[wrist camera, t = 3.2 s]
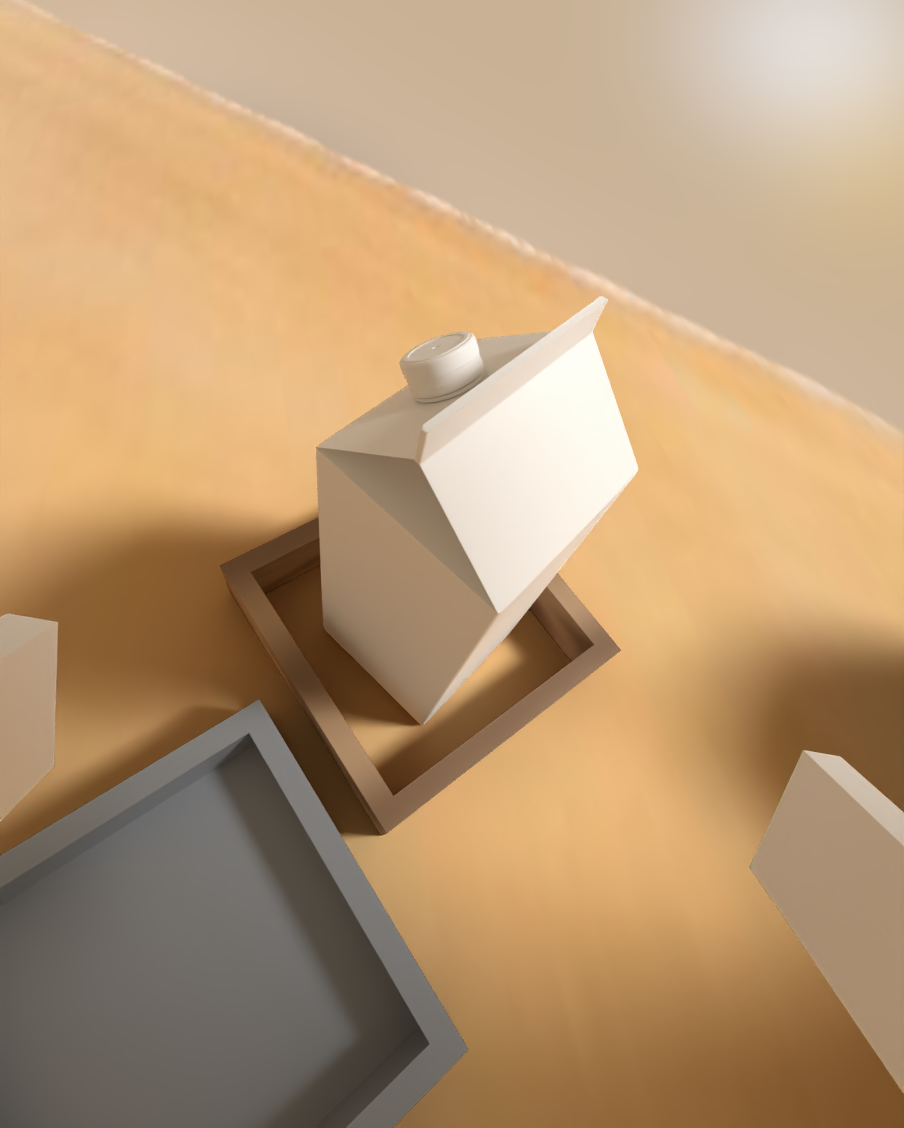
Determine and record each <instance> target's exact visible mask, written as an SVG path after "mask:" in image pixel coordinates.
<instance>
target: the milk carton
mask: <svg viewBox="0 0 904 1128" xmlns="http://www.w3.org/2000/svg"><path fill="white" fill-rule="evenodd" d="M607 301H608V300H607V299H606V298H605V297H603V296H600V297H599V298H597V299H596V300H595V301H593V302H592V303H590V304H589V305H588V306H586V307H585V308H584V309H582V310H581V311H579V312H578V313H577V314H575V315H574V316H572V317H571V318H570V319H568V320H567V321H566V322H564V323H563V324H561V325H560V326H559V327H557V328H556V329H555V330H553V331H552V332H542V333H532V334H522V335H512V336H502V337H492V338H484V339H478V340H476V338H475V336H474V335H473V334H472V333H469V332H456V333H450V334H446V335H442V336H439V337H436V338H434V339H431V340H429V341H427V342H424V343H423V344H421V345H419V346H417V347H415V348H414V349H412V350H411V351H409V352H408V353H407V354H406V355H405V356H404V357H403V358H402V359H401V361H400V367H401V370H402V372H403V375H404V377H405V379H406V380H407V383H408V385H407V386H406V387H404V388H403V389H401V390H400V391H398V392H397V393H395V394H394V395H392V396H391V397H389V398H388V399H386V400H385V401H383V402H382V403H380V404H379V405H377V406H376V407H374V408H373V409H371V410H370V411H368V412H367V413H365V414H364V415H362V416H361V417H359V418H358V419H356V420H355V421H353V422H352V423H350V424H349V425H347V426H346V427H344V428H343V429H341V430H340V431H338V432H337V433H335V434H334V435H332V436H331V437H330V438H328V439H327V440H325V441H324V442H322V443H321V444H320V445H318V446H317V447H316V449H317V451H316V461H317V489H318V514H319V539H320V563H321V588H322V613H323V628H324V630H325V631H326V632H327V633H328V634H329V635H330V636H331V637H332V638H333V639H334V640H335V641H336V642H337V643H338V644H339V645H341V646H342V647H343V648H344V649H345V650H346V651H347V652H348V653H349V654H350V655H351V656H352V657H353V658H354V659H355V660H356V661H357V662H358V663H359V664H360V665H361V666H362V667H363V668H364V669H365V670H366V671H367V672H368V673H369V674H370V675H371V676H372V677H373V678H374V679H375V680H376V681H377V682H378V683H379V684H380V685H381V686H382V687H383V688H384V689H385V690H386V691H387V692H388V693H389V694H390V695H391V696H392V697H393V698H394V699H395V700H396V701H397V702H398V703H399V704H400V705H401V706H402V707H403V708H404V709H405V710H406V711H407V712H408V713H409V714H410V715H411V716H412V717H413V718H414V719H415V720H416V721H417V722H418V723H419V724H420V725H423V724H425V723H426V722H427V721H428V720H429V719H430V718H431V717H432V716H433V715H434V714H435V713H436V712H437V710H438V709H439V708H440V707H441V706H442V705H443V704H444V703H445V702H446V701H447V700H448V699H449V698H450V697H451V696H452V694H453V693H454V692H455V691H456V690H457V689H458V688H459V687H460V686H461V685H462V684H463V683H464V682H465V681H466V680H467V678H468V677H469V676H470V675H471V674H472V673H473V672H474V671H475V670H476V669H477V668H478V667H479V666H480V665H481V664H482V662H483V661H484V660H485V659H486V658H487V657H488V656H489V655H490V654H491V653H492V652H493V651H494V650H495V649H496V647H497V646H498V645H499V644H500V643H501V642H502V641H503V640H504V639H505V638H506V637H507V636H508V634H509V633H510V632H511V631H512V629H513V628H514V627H515V626H516V624H517V623H518V622H519V621H520V619H521V618H522V617H523V615H524V614H525V613H526V612H527V610H528V609H529V608H530V607H531V605H532V604H533V603H534V602H535V600H536V599H537V598H538V597H539V595H540V594H541V593H542V592H543V590H544V589H545V588H546V587H547V585H548V584H549V583H550V582H551V580H552V579H553V578H554V576H555V575H556V574H557V573H558V571H559V570H560V569H561V568H562V566H563V565H564V564H565V563H566V561H567V560H568V559H569V558H570V556H571V555H572V554H573V553H574V551H575V550H576V549H577V548H578V546H579V545H580V544H581V542H582V541H583V540H584V539H585V537H586V536H587V535H588V534H589V532H590V531H591V530H592V529H593V527H594V526H595V525H596V524H597V522H598V521H599V520H600V519H601V517H602V516H603V515H604V514H605V512H606V511H607V510H608V509H609V507H610V506H611V505H612V503H613V502H614V501H615V500H616V498H617V497H618V496H619V495H620V493H621V492H622V491H623V490H624V488H625V487H626V486H627V485H628V483H629V482H630V481H631V480H632V478H633V477H634V476H635V474H636V473H637V471H638V466H637V463H636V460H635V457H634V454H633V451H632V448H631V445H630V442H629V439H628V436H627V433H626V430H625V427H624V424H623V421H622V418H621V415H620V412H619V409H618V406H617V403H616V400H615V397H614V394H613V392H612V389H611V386H610V383H609V380H608V377H607V374H606V371H605V368H604V365H603V362H602V359H601V356H600V353H599V350H598V347H597V344H596V341H595V338H594V335H593V332H592V331H593V329H594V327H595V325H596V323H597V321H598V319H599V317H600V315H601V313H602V311H603V309H604V307H605V305H606V303H607Z"/></svg>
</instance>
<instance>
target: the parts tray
mask: <svg viewBox="0 0 904 1128" xmlns="http://www.w3.org/2000/svg"><path fill="white" fill-rule="evenodd" d="M468 1050H469V1049H468V1048H467V1046H466V1044H465V1043H464V1041H463V1039H462V1037H461V1036H460V1034H459V1032H458V1031H457V1029H456V1027H455V1026H454V1024H453V1022H452V1021H451V1019H450V1017H449V1016H448V1014H447V1012H446V1011H445V1009H444V1007H443V1006H442V1004H441V1002H440V1001H439V999H438V997H437V996H436V994H435V992H434V991H433V989H432V987H431V986H430V984H429V982H428V981H427V979H426V977H425V976H424V974H423V972H422V971H421V969H420V967H419V966H418V964H417V962H416V961H415V959H414V957H413V955H412V954H411V952H410V950H409V949H408V947H407V945H406V944H405V942H404V940H403V939H402V937H401V935H400V934H399V932H398V930H397V929H396V927H395V925H394V924H393V922H392V920H391V919H390V917H389V915H388V914H387V912H386V910H385V909H384V907H383V905H382V904H381V902H380V900H379V899H378V897H377V895H376V894H375V892H374V890H373V889H372V887H371V885H370V884H369V882H368V880H367V879H366V877H365V875H364V873H363V872H362V870H361V868H360V867H359V865H358V863H357V862H356V860H355V858H354V857H353V855H352V853H351V852H350V850H349V848H348V847H347V845H346V843H345V842H344V840H343V838H342V837H341V835H340V833H339V832H338V830H337V828H336V827H335V825H334V823H333V822H332V820H331V818H330V817H329V815H328V813H327V812H326V810H325V808H324V807H323V805H322V803H321V802H320V800H319V798H318V796H317V795H316V793H315V791H314V790H313V788H312V786H311V785H310V783H309V781H308V780H307V778H306V776H305V775H304V773H303V771H302V770H301V768H300V766H299V765H298V763H297V761H296V760H295V758H294V756H293V755H292V753H291V751H290V750H289V748H288V746H287V745H286V743H285V741H284V740H283V738H282V736H281V735H280V733H279V731H278V730H277V728H276V726H275V725H274V723H273V721H272V720H271V718H270V716H269V714H268V713H267V711H266V709H265V708H264V706H263V704H262V703H261V701H260V699H259V700H257V701H255V702H254V703H252V704H250V705H249V706H247V707H245V708H244V709H242V710H240V711H239V712H237V713H236V714H234V715H232V716H231V717H229V718H227V719H226V720H224V721H222V722H221V723H219V724H217V725H216V726H214V727H212V728H211V729H209V730H207V731H206V732H204V733H202V734H201V735H199V736H197V737H196V738H194V739H192V740H191V741H189V742H187V743H186V744H184V745H182V746H181V747H179V748H177V749H176V750H174V751H173V752H171V753H169V754H168V755H166V756H164V757H163V758H161V759H159V760H158V761H156V762H154V763H153V764H151V765H149V766H148V767H146V768H144V769H143V770H141V771H139V772H138V773H136V774H134V775H133V776H131V777H129V778H128V779H126V780H124V781H123V782H121V783H119V784H118V785H116V786H115V787H113V788H111V789H110V790H108V791H106V792H105V793H103V794H101V795H100V796H98V797H96V798H95V799H93V800H91V801H90V802H88V803H86V804H85V805H83V806H81V807H80V808H78V809H76V810H75V811H73V812H71V813H70V814H68V815H66V816H65V817H63V818H61V819H60V820H58V821H56V822H55V823H53V824H52V825H50V826H48V827H47V828H45V829H43V830H42V831H40V832H38V833H37V834H35V835H33V836H32V837H30V838H28V839H27V840H25V841H23V842H22V843H20V844H18V845H17V846H15V847H13V848H12V849H10V850H8V851H7V852H5V853H3V854H2V855H0V1128H393V1127H394V1126H395V1125H396V1124H397V1123H398V1122H399V1121H400V1120H401V1119H402V1118H403V1117H404V1116H405V1115H406V1114H407V1113H408V1112H409V1111H410V1110H411V1109H412V1108H413V1107H414V1106H415V1104H416V1103H417V1102H418V1101H419V1100H420V1099H421V1098H422V1097H423V1096H424V1095H425V1094H426V1093H427V1092H428V1091H429V1090H430V1089H431V1088H432V1087H433V1086H434V1085H435V1084H436V1083H437V1082H438V1081H439V1080H440V1079H441V1078H442V1077H443V1076H444V1074H445V1073H446V1072H447V1071H448V1070H449V1069H450V1068H451V1067H452V1066H453V1065H454V1064H455V1063H456V1062H457V1061H458V1060H459V1059H460V1058H461V1057H462V1056H463V1055H464V1054H465V1053H466V1052H467V1051H468Z"/></svg>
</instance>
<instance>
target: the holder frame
mask: <svg viewBox="0 0 904 1128" xmlns="http://www.w3.org/2000/svg"><path fill="white" fill-rule="evenodd" d="M319 565H321V563H320V539H319V518H317V519H315V520H313V521H311V522H309V523H307V524H304V525H302V526H300V527H298V528H296V529H294V530H292V531H290V532H288V533H286V534H284V535H282V536H280V537H278V538H276V539H274V540H272V541H270V542H268V543H265V544H263V545H261V546H259V547H257V548H255V549H253V550H251V551H249V552H247V553H245V554H243V555H241V556H239V557H237V558H235V559H233V560H231V561H229V562H226V563H224V564H222V565H220V567H221V569H222V572H223V575H224V577H225V580H226V582H227V585H228V588H229V590H230V592H231V594H232V596H233V597H234V599H235V600H236V602H237V604H238V605H239V607H240V609H241V610H242V612H243V613H244V615H245V617H246V618H247V620H248V621H249V623H250V625H251V626H252V628H253V630H254V631H255V633H256V634H257V636H258V638H259V639H260V641H261V642H262V644H263V646H264V647H265V649H266V651H267V652H268V654H269V655H270V657H271V659H272V660H273V662H274V664H275V665H276V667H277V668H278V670H279V672H280V673H281V675H282V676H283V678H284V680H285V681H286V683H287V685H288V686H289V688H290V689H291V691H292V693H293V694H294V696H295V697H296V699H297V701H298V702H299V704H300V706H301V707H302V709H303V710H304V712H305V714H306V715H307V717H308V718H309V720H310V722H311V723H312V725H313V727H314V728H315V730H316V731H317V733H318V735H319V736H320V738H321V739H322V741H323V743H324V744H325V746H326V748H327V749H328V751H329V752H330V754H331V756H332V757H333V759H334V761H335V762H336V764H337V765H338V767H339V769H340V770H341V772H342V773H343V775H344V777H345V778H346V780H347V782H348V783H349V785H350V786H351V788H352V790H353V791H354V793H355V794H356V796H357V798H358V799H359V801H360V803H361V804H362V806H363V807H364V809H365V811H366V812H367V814H368V815H369V817H370V819H371V820H372V822H373V824H374V825H375V827H376V828H377V830H378V832H379V833H380V835H381V836H382V835H384V834H386V833H388V832H389V831H390V830H392V829H393V828H394V827H396V826H397V825H398V824H399V823H401V822H402V821H403V820H405V819H406V818H407V817H408V816H410V815H411V814H412V813H413V812H415V811H416V810H417V809H419V808H420V807H421V806H422V805H424V804H425V803H426V802H428V801H429V800H430V799H431V798H433V797H434V796H435V795H437V794H438V793H439V792H440V791H442V790H443V789H444V788H445V787H447V786H448V785H449V784H451V783H452V782H453V781H454V780H456V779H457V778H458V777H460V776H461V775H462V774H463V773H465V772H466V771H467V770H469V769H470V768H471V767H472V766H474V765H475V764H476V763H477V762H479V761H480V760H481V759H483V758H484V757H485V756H486V755H488V754H489V753H490V752H492V751H493V750H494V749H495V748H497V747H498V746H499V745H501V744H502V743H503V742H504V741H506V740H507V739H508V738H509V737H511V736H512V735H513V734H515V733H516V732H517V731H518V730H520V729H521V728H522V727H524V726H525V725H526V724H527V723H529V722H530V721H531V720H533V719H534V718H535V717H536V716H538V715H539V714H540V713H542V712H543V711H544V710H545V709H547V708H548V707H549V706H550V705H552V704H553V703H554V702H556V701H557V700H558V699H559V698H561V697H562V696H563V695H565V694H566V693H567V692H568V691H570V690H571V689H572V688H574V687H575V686H576V685H577V684H579V683H580V682H581V681H582V680H584V679H585V678H586V677H588V676H589V675H590V674H591V673H593V672H594V671H595V670H597V669H598V668H599V667H600V666H602V665H603V664H604V663H606V662H607V661H608V660H609V659H611V658H612V657H613V656H614V655H616V654H617V653H618V652H620V651H621V650H620V648H619V647H618V646H617V645H616V643H615V642H614V641H613V640H612V639H611V637H610V636H609V635H608V634H607V633H606V631H605V630H604V629H603V628H602V626H601V625H600V624H599V623H598V622H597V620H596V619H595V618H594V617H593V616H592V614H591V613H590V612H589V611H588V610H587V608H586V607H585V606H584V605H583V603H582V602H581V601H580V600H579V599H578V597H577V596H576V595H575V594H574V593H573V591H572V590H571V589H570V588H569V586H568V585H567V584H566V583H565V582H564V580H563V579H562V578H561V577H560V576H559V574H558V573H557V574H556V575H555V576H554V578H553V579H552V580H551V582H550V583H549V584H548V585H547V587H546V588H545V589H544V590H543V592H542V593H541V594H540V595H539V597H538V598H537V599H536V600H535V602H534V603H533V604H532V605H531V607H530V608H529V609H530V610H531V611H532V613H533V614H534V615H535V616H536V618H537V619H538V620H539V621H540V623H541V624H542V625H543V626H544V628H545V629H546V630H547V631H548V633H549V634H550V635H551V637H552V638H553V639H554V640H555V642H556V643H557V644H558V645H559V647H560V648H561V649H562V650H563V652H564V653H565V654H566V656H567V657H568V658H569V659H570V661H571V663H569V664H568V665H567V666H565V667H564V668H563V669H561V670H560V671H559V672H557V673H556V674H555V675H553V676H552V677H551V678H549V679H548V680H547V681H545V682H544V683H543V684H541V685H540V686H539V687H537V688H536V689H535V690H533V691H532V692H531V693H529V694H528V695H527V696H525V697H524V698H523V699H521V700H520V701H519V702H517V703H516V704H515V705H513V706H512V707H511V708H510V709H508V710H507V711H506V712H504V713H503V714H502V715H500V716H499V717H498V718H496V719H495V720H494V721H492V722H491V723H490V724H488V725H487V726H486V727H484V728H483V729H482V730H480V731H479V732H478V733H476V734H475V735H474V736H472V737H471V738H470V739H468V740H467V741H466V742H464V743H463V744H462V745H460V746H459V747H458V748H456V749H455V750H454V751H452V752H451V753H450V754H448V755H447V756H446V757H445V758H443V759H442V760H441V761H439V762H438V763H437V764H435V765H434V766H433V767H431V768H430V769H429V770H427V771H426V772H425V773H423V774H422V775H421V776H419V777H418V778H417V779H415V780H414V781H413V782H411V783H410V784H409V785H407V786H406V787H405V788H403V789H402V790H401V791H399V792H398V793H397V794H395V795H394V796H393V794H392V793H391V791H390V790H389V788H388V787H387V785H386V783H385V782H384V780H383V779H382V777H381V776H380V774H379V772H378V771H377V769H376V768H375V766H374V765H373V763H372V761H371V760H370V758H369V757H368V755H367V754H366V752H365V750H364V749H363V747H362V746H361V744H360V743H359V741H358V740H357V738H356V736H355V735H354V733H353V732H352V730H351V729H350V727H349V725H348V724H347V722H346V721H345V719H344V718H343V716H342V714H341V713H340V711H339V710H338V708H337V707H336V705H335V704H334V702H333V700H332V699H331V697H330V696H329V694H328V693H327V691H326V689H325V688H324V686H323V685H322V683H321V682H320V680H319V678H318V677H317V675H316V674H315V672H314V671H313V669H312V667H311V666H310V664H309V663H308V661H307V660H306V658H305V657H304V655H303V653H302V652H301V650H300V649H299V647H298V646H297V644H296V642H295V641H294V639H293V638H292V636H291V635H290V633H289V631H288V630H287V628H286V627H285V625H284V624H283V622H282V620H281V619H280V617H279V616H278V614H277V613H276V611H275V610H274V608H273V606H272V605H271V603H270V602H269V600H268V599H267V597H266V595H265V593H267V592H269V591H271V590H273V589H275V588H277V587H279V586H281V585H282V584H284V583H286V582H288V581H290V580H292V579H294V578H296V577H298V576H300V575H302V574H303V573H305V572H307V571H309V570H311V569H313V568H315V567H317V566H319Z"/></svg>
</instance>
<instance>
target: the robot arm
mask: <svg viewBox="0 0 904 1128" xmlns="http://www.w3.org/2000/svg"><path fill="white" fill-rule="evenodd" d="M57 644H58V622H55V621H49V620H44V619H38V618H32V617H26V616H20V615H14V614H9V613H7V614H5V615H3V616H1V617H0V822H1V821H2V820H3V819H4V818H5V817H6V816H7V815H8V814H9V813H10V812H11V811H12V810H13V809H14V808H15V807H16V805H17V804H18V803H19V802H20V801H21V800H22V799H23V798H24V797H25V796H26V795H27V794H28V793H29V792H30V791H31V790H32V789H33V788H34V787H35V786H36V785H37V784H38V783H39V782H40V781H41V780H42V779H43V778H44V777H45V775H46V774H47V773H48V772H49V771H50V770H51V769H52V768H53V767H54V760H55V721H56V683H57ZM750 869H751V870H752V872H753V873H754V875H755V876H756V878H757V879H758V881H759V882H760V884H761V885H762V887H763V888H764V889H765V891H766V892H767V894H768V895H769V897H770V898H771V900H772V901H773V903H774V904H775V906H776V907H777V909H778V910H779V911H780V913H781V914H782V916H783V917H784V919H785V920H786V922H787V923H788V925H789V926H790V928H791V929H792V931H793V932H794V934H795V935H796V936H797V938H798V939H799V941H800V942H801V944H802V945H803V947H804V948H805V950H806V951H807V953H808V954H809V956H810V957H811V959H812V960H813V961H814V963H815V964H816V966H817V967H818V969H819V970H820V972H821V973H822V975H823V976H824V978H825V979H826V981H827V982H828V983H829V985H830V986H831V988H832V989H833V991H834V992H835V994H836V995H837V997H838V998H839V1000H840V1001H841V1003H842V1004H843V1006H844V1007H845V1008H846V1010H847V1011H848V1013H849V1014H850V1016H851V1017H852V1019H853V1020H854V1022H855V1023H856V1025H857V1026H858V1028H859V1029H860V1030H861V1032H862V1033H863V1035H864V1036H865V1038H866V1039H867V1041H868V1042H869V1044H870V1045H871V1047H872V1048H873V1050H874V1051H875V1053H876V1054H877V1055H878V1057H879V1058H880V1060H881V1061H882V1063H883V1064H884V1066H885V1067H886V1069H887V1070H888V1072H889V1073H890V1075H891V1076H892V1077H893V1079H894V1080H895V1082H896V1083H897V1085H898V1086H899V1088H900V1089H901V1091H902V1092H903V1094H904V812H903V811H901V810H900V809H899V808H898V807H897V806H896V805H895V804H894V803H892V802H891V801H890V800H889V799H888V798H887V797H886V796H885V795H883V794H882V793H881V792H880V791H879V790H878V789H877V788H875V787H874V786H873V785H872V784H871V783H870V782H869V781H868V780H866V779H865V778H864V777H863V776H862V775H861V774H860V773H859V772H857V771H856V770H855V769H854V768H853V767H852V766H851V765H849V764H848V763H847V762H846V761H845V760H844V759H843V758H842V757H840V756H835V755H829V754H823V753H818V752H812V751H806V750H803V751H802V754H801V756H800V758H799V760H798V762H797V764H796V767H795V769H794V771H793V773H792V775H791V778H790V780H789V782H788V784H787V786H786V788H785V791H784V793H783V795H782V797H781V799H780V802H779V804H778V806H777V808H776V810H775V812H774V815H773V817H772V819H771V821H770V823H769V826H768V828H767V830H766V832H765V834H764V836H763V839H762V841H761V843H760V845H759V847H758V850H757V852H756V854H755V856H754V858H753V860H752V863H751V865H750Z"/></svg>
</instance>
